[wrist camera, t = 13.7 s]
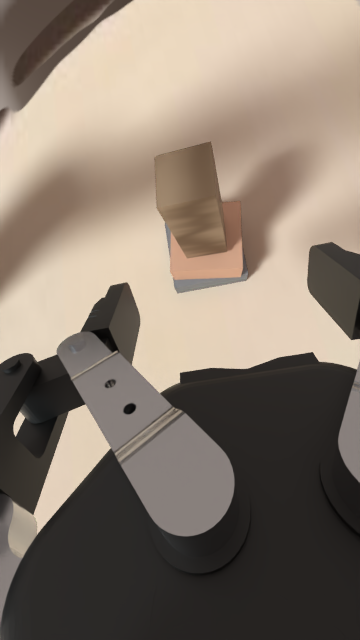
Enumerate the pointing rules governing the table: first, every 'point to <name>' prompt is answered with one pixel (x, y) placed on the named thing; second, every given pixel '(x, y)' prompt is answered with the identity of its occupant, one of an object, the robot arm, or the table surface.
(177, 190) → the brown block
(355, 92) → the table surface
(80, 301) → the table surface
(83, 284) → the table surface
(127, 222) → the table surface
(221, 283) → the lower slab
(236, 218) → the upper slab
